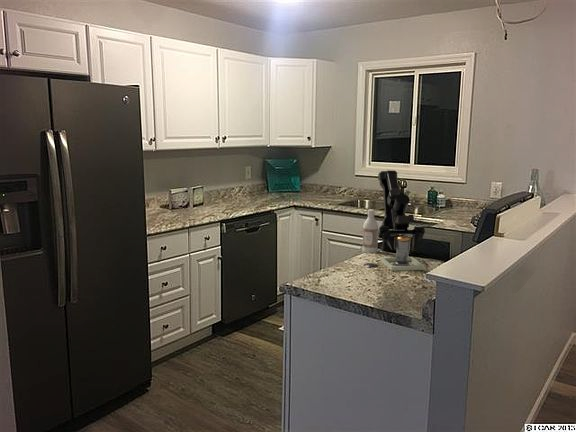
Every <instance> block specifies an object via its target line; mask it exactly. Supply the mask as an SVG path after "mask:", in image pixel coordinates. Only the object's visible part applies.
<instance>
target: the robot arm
mask: <svg viewBox="0 0 576 432" xmlns="http://www.w3.org/2000/svg"><path fill="white" fill-rule="evenodd" d="M377 180H378V181H379V186H380V187H381V188H382V191H383V207H384V208H383V209H384V210H383V211H384V219H383V220H382V222H381V225H380V226H378V239H381V240H382V246H380V247H379V248H380V250H383V251H384V252H387V251H389V252H390V251H393V252H394V251H396V250H397V247H395V246H396V245H395V244H396V239H397V236H400V235H407V236H408V235H412V249H413V251H416V247H417V244H418V241H420V240H421V239H423V237H424V235H425V233H426V230H425V227H424V226H423V225H421V226H414V227H413V229H408V228H409V227H410V224H411V223H414V222H415V216H414V214H408V215H406V211H407V210H408V206H409V205H410V197H409V196H408V195H407V194H405V192H404V191H403V190H401V189H400V186H399V182H398V172H397V171H396V170H394V169H393V170H389V169H388V170H381V171H380V172H378V175H377Z"/></svg>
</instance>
